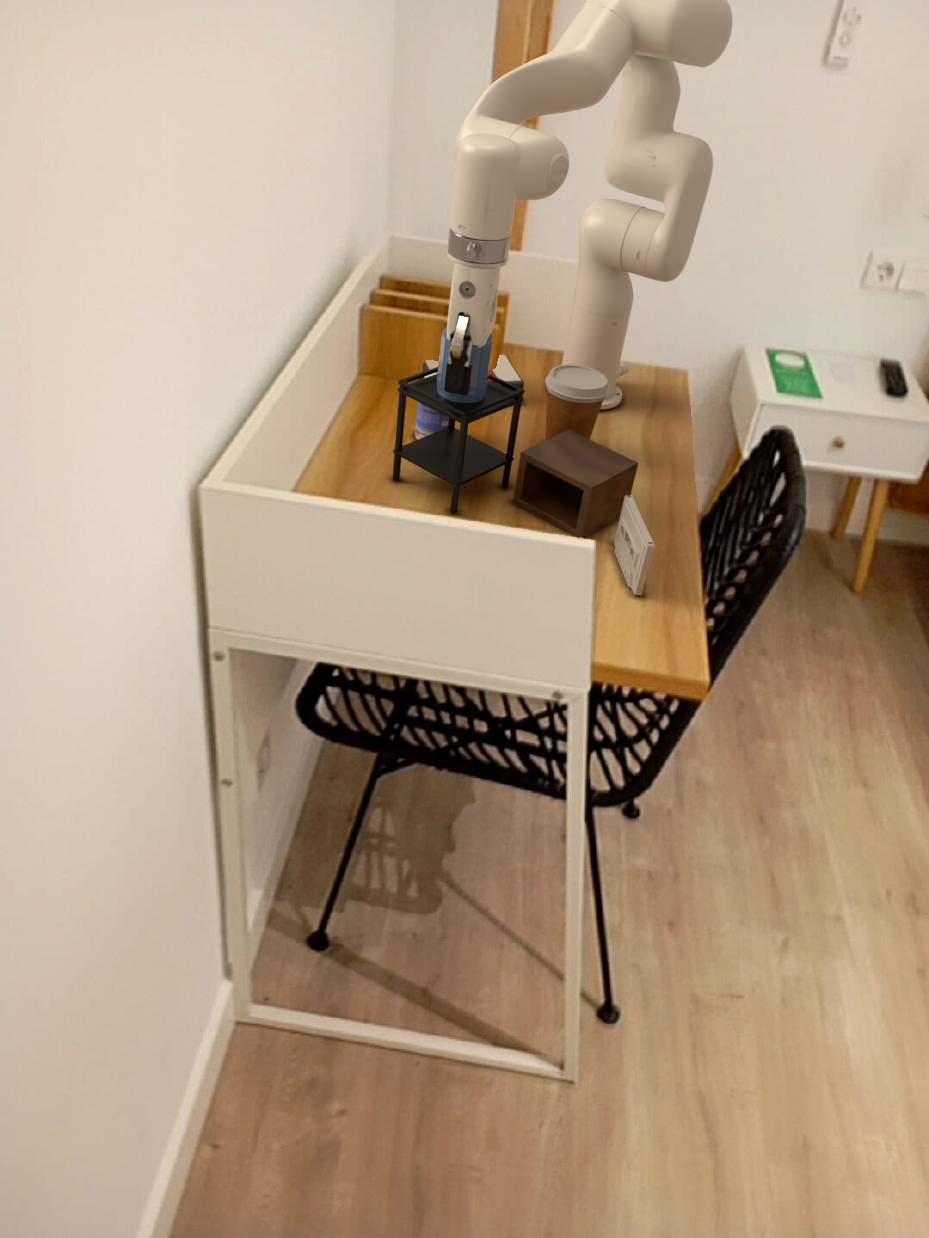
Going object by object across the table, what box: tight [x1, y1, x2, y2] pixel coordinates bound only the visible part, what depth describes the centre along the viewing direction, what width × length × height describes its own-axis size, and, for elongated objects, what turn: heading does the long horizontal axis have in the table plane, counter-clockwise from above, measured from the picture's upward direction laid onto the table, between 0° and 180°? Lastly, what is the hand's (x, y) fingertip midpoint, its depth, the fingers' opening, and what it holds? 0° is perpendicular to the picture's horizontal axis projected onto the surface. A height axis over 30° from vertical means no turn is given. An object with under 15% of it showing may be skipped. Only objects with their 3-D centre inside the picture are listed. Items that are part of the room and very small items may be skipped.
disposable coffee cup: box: [544, 364, 609, 441], centre depth 153 cm, size 10×10×12 cm
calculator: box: [420, 354, 525, 398], centre depth 169 cm, size 11×4×15 cm
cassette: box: [613, 495, 655, 596], centre depth 129 cm, size 12×2×8 cm, turn 6°
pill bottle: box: [414, 373, 449, 440], centre depth 151 cm, size 5×5×10 cm
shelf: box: [512, 430, 639, 539], centre depth 140 cm, size 11×12×8 cm
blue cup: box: [437, 327, 495, 403], centre depth 133 cm, size 7×7×8 cm
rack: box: [392, 367, 526, 515], centre depth 140 cm, size 12×12×15 cm
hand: (462, 379), depth 135 cm, fingers open, 7 cm apart
